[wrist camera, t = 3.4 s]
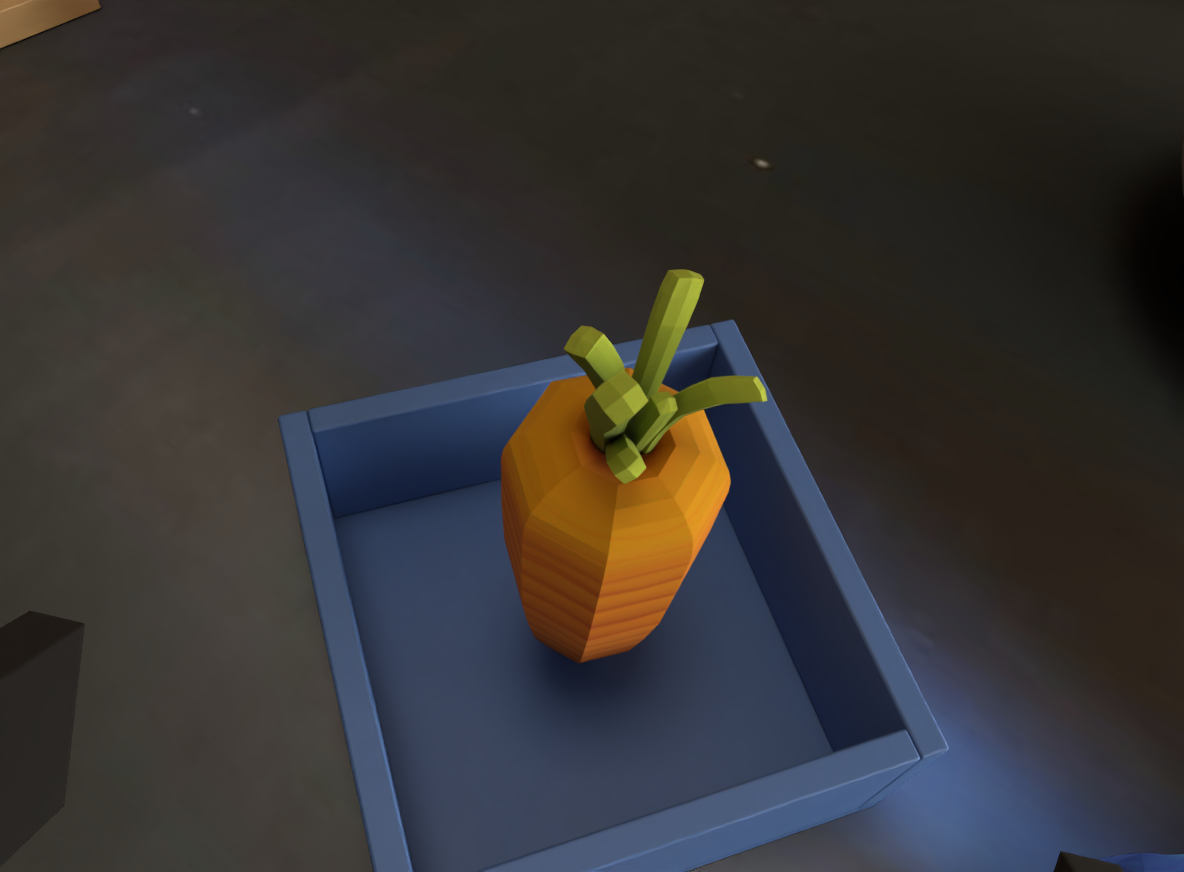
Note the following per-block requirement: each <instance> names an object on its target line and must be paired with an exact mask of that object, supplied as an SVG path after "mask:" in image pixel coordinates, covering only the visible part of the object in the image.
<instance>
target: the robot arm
mask: <svg viewBox="0 0 1184 872" xmlns="http://www.w3.org/2000/svg"><path fill="white" fill-rule="evenodd" d="M84 626H85V623H81V622H76V621H72V620H68V619H63V618H59V617H55V616H51V615H46V614H42V613H38V612H33V611H28V612H27V613H25V614H23V615H22V616H20V617H18V618H17V619H15V620H13V621H12V622H10V623H8V624H7V625H5V626H3V627H1V628H0V866H1V865H2V864H3V863H4V862H5V861H6V860H8V859H9V858H10V857H11V856H12V855H13V854H14V853H15V852H16V851H17V850H18V849H19V848H20V847H21V846H22V845H23V844H24V843H25V842H27V841H28V840H29V839H30V838H31V837H32V836H33V835H34V834H35V833H36V832H37V831H38V830H39V829H40V828H41V827H42V826H43V825H44V824H46V823H47V822H48V821H49V820H50V819H51V818H52V817H53V816H54V815H55V814H56V813H57V812H58V811H59V810H60V809H61V808H62V807H63V806H64V802H65V793H66V784H67V775H68V766H69V758H70V749H71V740H72V731H73V723H74V714H75V705H76V696H77V687H78V679H79V670H80V661H81V652H82V644H83V635H84ZM1054 872H1124V871H1123V869H1122V868H1121V866H1120V865H1117V864H1113V863H1109V862H1104V861H1100V860H1096V859H1092V858H1087V857H1083V856H1079V855H1074V854H1070V853H1066V852H1062V851H1061V852H1060V854H1059V857H1058V860H1057V863H1056V866H1055V869H1054Z"/></svg>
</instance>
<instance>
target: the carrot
mask: <svg viewBox="0 0 1184 872" xmlns="http://www.w3.org/2000/svg"><path fill="white" fill-rule="evenodd" d="M703 282H704V279H703V277H702V276H701V275H700V274H698V273H695V272H692V271H689V270H682V269H679V270H668V272H667V274H666V276H665V278H664V280H663V282H662V284H661V286H660V289H659V292H658V295H657V297H656V300H655V303H654V306H653V309H652V311H651V315H650V318H649V321H648V325H647V328H646V331H645V334H644V338H643V341H642V344H641V347H640V351H639V354H638V357H637V361H636V364H635V367H634V370H633V369H631V368H629V367H628V368H624V364H623V362H622V360H621V358H620V357H619V355H618V353H617V351H616V350H615V348H614V346H613V345H612V344H611V342H610V341H609V340H608V339H607V338H606V336H605V335H604V334H603V333H601V332H600V331H598V330H596V329H594V328H593V327H587V326H581V327H580V328H579V329H578V330H577V331H576V332H575V333H573V334H572V335H571V337H570V339H569V340H568V342H567V344H566V346H565V348H564V350H565V351H566V353H567V354H568V355H569V356H570V357H571V358H572V359H573V360H574V361H575V362H576V363H577V364H578V365H579V366H580V367H581V368H582V369H583V370H584V371H585V373H586V375H585V376H579V377H574V378H568V379H563V380H557V381H552V382H551V383H550V384H549V386H548V387H547V389H546V390H545V391H544V393H543V394H542V395H541V397H540V398H539V400H538V401H537V402H536V404H535V405H534V406H533V408H532V409H531V411H530V412H529V413H528V415H527V416H526V418H525V419H524V420H523V422H522V423H521V424H520V426H519V427H518V429H517V430H516V431H515V433H514V434H513V436H512V437H511V438H510V440H509V441H508V443H507V444H506V446H505V447H504V449H503V452H502V456H501V502H502V516H503V529H504V540H505V543H506V547H507V551H508V554H509V558H510V562H511V565H512V569H513V573H514V576H515V580H516V584H517V587H518V591H519V595H520V598H521V602H522V606H523V609H524V612H525V615H526V619H527V622H528V624H529V626H530V629H531V631H532V633H533V635H534V637H535V638H536V639H537V640H539V641H540V642H542V643H543V644H545V645H546V646H548V647H549V648H551V649H553V650H555V651H557V652H558V653H560V654H562V655H564V656H565V657H567V658H569V659H571V660H573V661H574V662H576V663H582V662H586V661H590V660H594V659H598V658H602V657H606V656H610V655H614V654H618V653H622V652H626V651H629V650H631V649H632V648H633V647H635V646H636V645H637V644H638V643H640V642H641V641H642V640H643V639H644V638H645V637H646V636H647V635H648V634H649V633H650V632H651V631H652V630H653V629H654V628H655V627H656V626H657V625H658V624H659V623H660V621H661V619H662V618H663V616H664V614H665V612H666V610H667V609H668V607H669V605H670V603H671V601H672V599H673V598H674V596H675V594H676V592H677V590H678V589H679V587H680V585H681V583H682V581H683V580H684V578H685V576H686V574H687V572H688V570H689V569H690V567H691V565H692V563H693V561H694V560H695V558H696V556H697V554H698V552H699V550H700V548H701V547H702V545H703V543H704V541H705V539H706V537H707V535H708V534H709V532H710V530H711V528H712V526H713V523H714V521H715V519H716V517H717V515H718V513H719V511H720V509H721V506H722V504H723V502H724V500H725V498H726V496H727V494H728V492H729V487H730V483H731V481H730V474H729V470H728V468H727V465H726V463H725V461H724V458H723V456H722V453H721V451H720V448H719V446H718V443H717V441H716V439H715V436H714V434H713V431H712V429H711V426H710V424H709V421H708V419H707V417H706V414H705V412H704V409H707V408H711V407H715V406H719V405H722V404H734V403H751V402H763V401H767V396H766V390H765V388H764V386H763V385H762V383H761V382H760V380H759V378H758V377H757V376H736V375H734V376H723V377H711V378H709V379H706V380H704V381H701V382H699V383H696V384H694V385H691V386H689V387H687V388H685V389H684V390H682V391H680V392H678V391H676V390H674V389H672V388H670V387H668V386H666V385H664V384H662V381H663V379H664V377H665V374H666V372H667V370H668V368H669V365H670V363H671V361H672V359H673V356H674V354H675V352H676V350H677V347H678V345H679V343H680V341H681V338H682V336H683V334H684V332H685V329H686V327H687V325H688V322H689V320H690V318H691V315H692V313H693V310H694V308H695V306H696V303H697V301H698V298H699V295H700V292H701V289H702V285H703Z"/></svg>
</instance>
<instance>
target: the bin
mask: <svg viewBox="0 0 1184 872" xmlns="http://www.w3.org/2000/svg"><path fill="white" fill-rule="evenodd" d="M642 341H643V338H642V339H638V340H633V341H628V342H624V343H619V344H614V345H613V346H614V348H615V350H616V351H617V353H618V355H619V357H620V358H621V360H622V362H623V364H624V368H628V367H629V368H631V369H633V370H634V367H635V364H636V361H637V357H638V354H639V351H640V347H641V344H642ZM585 375H586V373H585V371H584V370H583V369H582V368H581V367H580V366H579V365H578V364H577V363H576V362H575V361H574V360H573V359H572V358H571V357H570V356H569V355H568V354H567V355H563V356H558V357H553V358H548V359H544V360H539V361H534V362H530V363H525V364H520V365H515V366H511V367H506V368H501V369H497V370H492V371H487V372H483V373H478V374H473V375H468V376H464V377H459V378H454V379H450V380H445V381H440V382H436V383H431V384H426V385H421V386H417V387H412V388H407V389H403V390H398V391H393V392H389V393H384V394H379V395H374V396H370V397H365V398H360V399H356V400H351V401H346V402H342V403H337V404H332V405H327V406H323V407H318V408H313V409H310V410H308V413H307V412H306V411H300V412H295V413H290V414H285V415H281V416H279V418H278V422H279V427H280V431H281V436H282V441H283V446H284V450H285V455H286V460H287V465H288V469H289V474H290V479H291V483H292V488H293V493H294V498H295V502H296V507H297V512H298V517H299V521H300V526H301V531H302V536H303V540H304V545H305V550H306V554H307V559H308V564H309V569H310V573H311V578H312V583H313V588H314V592H315V597H316V602H317V607H318V611H319V616H320V621H321V625H322V630H323V635H324V640H325V644H326V649H327V654H328V659H329V663H330V668H331V673H332V677H333V682H334V687H335V692H336V696H337V701H338V706H339V711H340V715H341V720H342V725H343V730H344V734H345V739H346V744H347V748H348V753H349V758H350V763H351V767H352V772H353V777H354V782H355V786H356V791H357V796H358V801H359V805H360V810H361V815H362V819H363V824H364V829H365V834H366V838H367V843H368V848H369V853H370V857H371V862H372V867H373V872H686V871H689V870H692V869H695V868H698V867H700V866H703V865H706V864H709V863H712V862H715V861H717V860H720V859H723V858H726V857H729V856H732V855H735V854H737V853H740V852H743V851H746V850H749V849H752V848H755V847H757V846H760V845H763V844H766V843H769V842H772V841H775V840H777V839H780V838H783V837H786V836H789V835H792V834H795V833H797V832H800V831H803V830H806V829H809V828H812V827H814V826H817V825H820V824H823V823H826V822H829V821H832V820H834V819H837V818H840V817H843V816H846V815H849V814H852V813H854V812H857V811H860V810H863V809H866V808H869V807H872V806H874V805H876V804H877V803H879V802H880V801H881V800H882V799H884V798H885V797H886V796H888V795H889V794H890V793H892V792H893V791H894V790H896V789H897V788H898V787H900V786H901V785H902V784H904V783H905V782H906V781H908V780H909V779H910V778H912V777H913V776H914V775H916V774H917V773H918V772H920V771H921V770H922V769H924V768H925V767H926V766H928V765H929V764H930V763H932V762H933V761H934V760H936V759H937V758H938V757H940V756H941V755H942V754H944V753H945V752H946V751H947V750H948V749H949V748H948V745H947V743H946V741H945V739H944V737H943V735H942V733H941V731H940V729H939V727H938V725H937V723H936V721H935V719H934V717H933V715H932V713H931V711H930V709H929V707H928V705H927V703H926V701H925V699H924V697H923V695H922V693H921V691H920V689H919V687H918V685H917V683H916V681H915V679H914V677H913V675H912V673H911V671H910V669H909V667H908V665H907V663H906V661H905V659H904V657H903V655H902V653H901V651H900V649H899V647H898V645H897V643H896V641H895V639H894V637H893V635H892V634H891V632H890V630H889V628H888V626H887V624H886V622H885V620H884V618H883V616H882V614H881V612H880V610H879V608H878V606H877V604H876V602H875V600H874V598H873V596H872V594H871V592H870V590H869V588H868V586H867V584H866V582H865V580H864V578H863V576H862V574H861V572H860V570H859V568H858V566H857V564H856V562H855V560H854V558H853V556H852V554H851V552H850V550H849V548H848V546H847V544H846V542H845V540H844V538H843V536H842V534H841V532H840V530H839V528H838V526H837V524H836V522H835V520H834V518H833V516H832V514H831V512H830V510H829V508H828V506H827V504H826V502H825V500H824V498H823V496H822V494H821V492H820V490H819V488H818V486H817V484H816V483H815V481H814V479H813V477H812V475H811V473H810V471H809V469H808V467H807V465H806V463H805V461H804V459H803V457H802V455H801V453H800V451H799V449H798V447H797V445H796V443H795V441H794V439H793V437H792V435H791V433H790V431H789V429H788V427H787V425H786V423H785V421H784V419H783V417H782V415H781V413H780V411H779V409H778V407H777V405H776V403H775V401H774V399H773V397H772V395H771V393H770V391H769V389H768V387H767V385H766V383H765V381H764V379H763V377H762V375H761V373H760V371H759V369H758V367H757V365H756V363H755V361H754V359H753V357H752V355H751V353H750V351H749V349H748V347H747V345H746V343H745V341H744V339H743V337H742V335H741V333H740V331H739V330H738V328H737V326H736V324H735V322H734V320H727V321H723V322H718V323H713V324H711V325H710V326H709V325H704V326H699V327H694V328H689V329H685V332H684V334H683V336H682V338H681V341H680V343H679V345H678V347H677V350H676V352H675V354H674V356H673V359H672V361H671V363H670V365H669V368H668V370H667V372H666V374H665V377H664V379H663V381H662V384H664V385H666V386H668V387H670V388H672V389H674V390H676V391H678V392H680V391H682V390H684V389H685V388H687V387H689V386H691V385H694V384H696V383H699V382H701V381H704V380H706V379H709V378H711V377H723V376H734V375H736V376H757V377H758V378H759V380H760V382H761V383H762V385H763V386H764V388H765V390H766V396H767V401H763V402H751V403H734V404H722V405H719V406H715V407H711V408H707V409H704V412H705V414H706V417H707V419H708V421H709V424H710V426H711V429H712V431H713V434H714V436H715V439H716V441H717V443H718V446H719V448H720V451H721V453H722V456H723V458H724V461H725V463H726V465H727V468H728V470H729V474H730V481H731V483H730V487H729V492H728V494H727V496H726V498H725V500H724V502H723V504H722V506H721V509H720V511H719V513H718V515H717V517H716V519H715V521H714V523H713V526H712V528H711V530H710V532H709V534H708V535H707V537H706V539H705V541H704V543H703V545H702V547H701V548H700V550H699V552H698V554H697V556H696V558H695V560H694V561H693V563H692V565H691V567H690V569H689V570H688V572H687V574H686V576H685V578H684V580H683V581H682V583H681V585H680V587H679V589H678V590H677V592H676V594H675V596H674V598H673V599H672V601H671V603H670V605H669V607H668V609H667V610H666V612H665V614H664V616H663V618H662V619H661V621H660V623H659V624H658V625H657V626H656V627H655V628H654V629H653V630H652V631H651V632H650V633H649V634H648V635H647V636H646V637H645V638H644V639H643V640H642V641H641V642H640V643H638V644H637V645H636V646H635V647H633V648H632V649H631V650H629V651H626V652H622V653H618V654H614V655H610V656H606V657H602V658H598V659H594V660H590V661H586V662H582V663H576V662H574V661H573V660H571V659H569V658H567V657H565V656H564V655H562V654H560V653H558V652H557V651H555V650H553V649H551V648H549V647H548V646H546V645H545V644H543V643H542V642H540V641H539V640H537V639H536V638H535V637H534V635H533V633H532V631H531V629H530V626H529V624H528V622H527V619H526V615H525V612H524V609H523V606H522V602H521V598H520V595H519V591H518V587H517V584H516V580H515V576H514V573H513V569H512V565H511V562H510V558H509V554H508V551H507V547H506V543H505V540H504V529H503V516H502V502H501V456H502V452H503V449H504V447H505V446H506V444H507V443H508V441H509V440H510V438H511V437H512V436H513V434H514V433H515V431H516V430H517V429H518V427H519V426H520V424H521V423H522V422H523V420H524V419H525V418H526V416H527V415H528V413H529V412H530V411H531V409H532V408H533V406H534V405H535V404H536V402H537V401H538V400H539V398H540V397H541V395H542V394H543V393H544V391H545V390H546V389H547V387H548V386H549V384H550V383H551V382H552V381H557V380H563V379H568V378H574V377H579V376H585Z"/></svg>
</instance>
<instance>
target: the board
mask: <svg viewBox="0 0 1184 872" xmlns="http://www.w3.org/2000/svg"><path fill="white" fill-rule="evenodd" d="M97 9H100V4H99V1H98V0H0V48H2V47H5V46H7V45H10V44H12V43H15V42H17V41H20V40H22V39H25V38H27V37H30V36H32V35H35V34H37V33H40V32H42V31H45V30H47V29H50V28H52V27H55V26H57V25H60V24H62V23H65V22H67V21H70V20H72V19H75V18H77V17H80V16H82V15H85V14H87V13H90V12H92V11H95V10H97Z"/></svg>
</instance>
